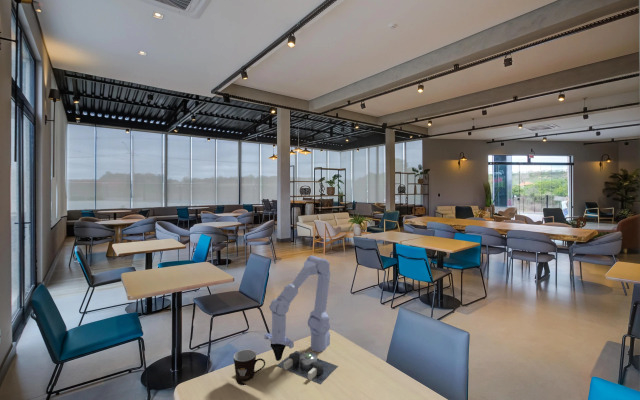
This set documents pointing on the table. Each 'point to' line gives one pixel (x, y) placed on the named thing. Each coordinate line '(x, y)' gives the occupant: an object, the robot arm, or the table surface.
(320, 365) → the knob
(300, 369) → the plate
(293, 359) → the knob
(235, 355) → the coffee mug
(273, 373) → the table surface
